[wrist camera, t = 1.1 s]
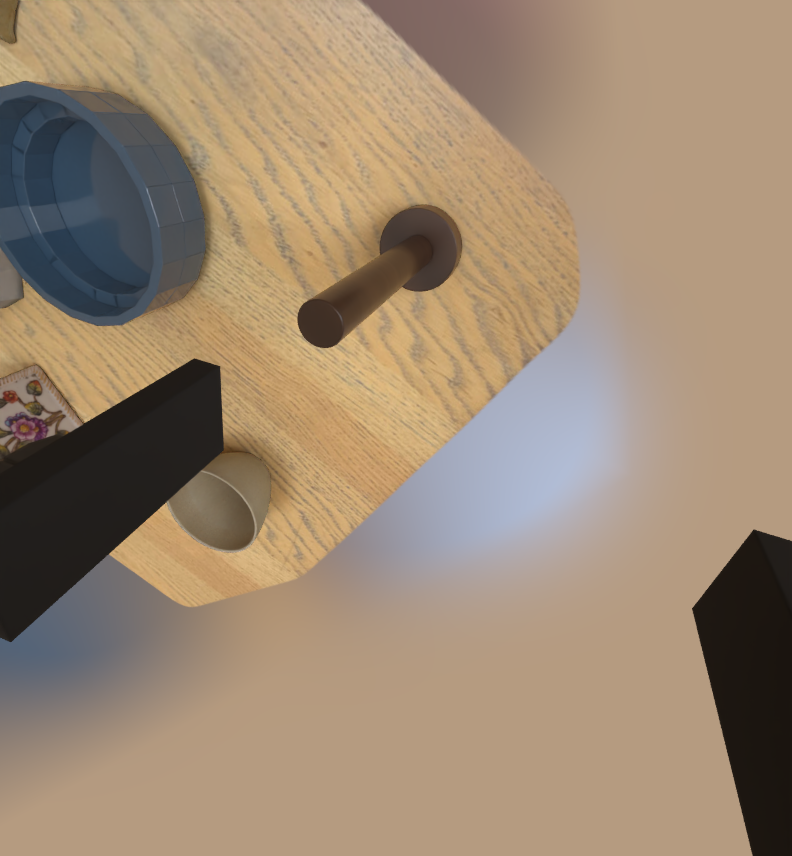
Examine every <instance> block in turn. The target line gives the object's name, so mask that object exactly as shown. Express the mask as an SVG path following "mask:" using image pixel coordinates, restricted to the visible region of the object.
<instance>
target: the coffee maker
mask: <svg viewBox="0 0 792 856" xmlns="http://www.w3.org/2000/svg"><path fill="white" fill-rule="evenodd" d="M22 298H23V286H22V277H21V276H20V274H18V272H17V271H16V269H15V268H14V267H13V265H12V264H11V262H10V261H9V259H8V258H7V257H6V255H5V254H4V252H3V251H2V250H1V248H0V308H6V307H8V306H10V305H11V304H13V303H15V302H17V301H18V300H20V299H22Z"/></svg>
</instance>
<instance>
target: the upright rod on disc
mask: <svg viewBox="0 0 792 856" xmlns="http://www.w3.org/2000/svg"><path fill="white" fill-rule="evenodd" d="M461 252H462V241H461V236H460V232H459V229H458V227H457V225H456V224H455V222H454V221H453V219H452V218H451V217H450V216H449V215H448V214H447V213H446V212H444V211H443V210H441V209H439V208H437V207H434V206H430V205H416V206H413V207H410V208H408V209H406V210H404V211H401V212H399V213H398V214H396V215H395V216H394V217H393V218H392V219H391V220H390V221H389V222H388V223H387V225H386V226H385V228H384V230H383V233H382V236H381V240H380V256H378V257H377V258H375V259H374V260H372V261H370V262H369V263H367V264H366V265H364V266H362V267H361V268H359V269H358V270H356V271H354V272H353V273H351V274H350V275H348V276H346V277H345V278H343V279H342V280H340V281H339V282H337V283H335V284H334V285H332V286H331V287H329V288H327V289H326V290H324V291H323V292H321V293H319V294H318V295H316V296H315V297H313V298H311V299H310V300H308V301H307V302H305V303H304V304H303V305H302V306H301V308H300V310H299V313H298V326H299V329H300V331H301V333H302V335H303V336H304V338H305V339H306V340H307V341H308V342H310V343H311V344H312V345H314V346H317V347H320V348H330V347H333V346H335V345H336V344H338V343H339V342H340V341H341V340H342V339H343V338H345V337H346V336H347V335H348V334H349V333H350V332H351V331H352V330H354V329H355V328H356V327H357V326H358V325H359V324H360V323H362V322H363V321H364V320H365V319H366V318H367V317H368V316H369V315H371V314H372V313H373V312H374V311H375V310H376V309H377V308H378V307H380V306H381V305H382V304H383V303H384V302H385V301H386V300H387V299H389V298H390V297H391V296H392V295H393V294H394V293H395V292H397V291H398V290H399V289H400V288H401V287H403V288H405V289H408V290H411V291H420V292H421V291H428V290H431V289H434V288H436V287H438V286H440V285H441V284H442V283H444V282H445V281H446V280H447V279H448V277H449V276H450V275H451V274H452V273H453V271H454V270H455V269H456V267H457V265H458V263H459V260H460V257H461Z"/></svg>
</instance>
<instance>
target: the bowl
mask: <svg viewBox="0 0 792 856" xmlns="http://www.w3.org/2000/svg"><path fill="white" fill-rule="evenodd" d="M0 248H1V250H2V251H3V252H4V254H5V255H6V257H7V258H8V259H9V261H10V262H11V264H12V265H13V267H14V268H15V269H16V271H17V272H18V274H20V276H21V277H22V278H23V279H24V280H25V281H26V282H27V283H28V284H29V285H30V286H31V287H32V288H33V289H34V290H35V291H36V292H37V293H38V294H39V295H40V296H41V297H42V298H43V299H45V300H46V301H47V302H49V303H50V304H52V305H53V306H55V307H56V308H58V309H60V310H61V311H63V312H64V313H66V314H67V315H69V316H70V317H73V318H76V319H79V320H82V321H85V322H88V323H91V324H94V325H97V326H115V325H124V324H126V323H128V322H131V321H133V320H135V319H138V318H140V317H143V316H145V315H147V314H150V313H152V312H154V311H157V310H159V309H161V308H164V307H166V306H168V305H170V304H172V303H174V302H176V301H178V300H180V299H182V298H183V297H184V296H185V295H186V294H187V292H188V291H189V290H190V289H191V287H192V286H193V285H194V283H195V282H196V281H197V279H198V277H199V273H200V270H201V266H202V262H203V259H204V255H205V250H206V247H205V218H204V213H203V210H202V206H201V203H200V199H199V196H198V192H197V188H196V185H195V182H194V179H193V177H192V175H191V173H190V171H189V170H188V168H187V166H186V164H185V162H184V160H183V158H182V157H181V155H180V153H179V151H178V149H177V147H176V145H174V143H173V142H172V141H171V140H170V139H169V138H168V136H167V135H166V134H165V133H164V132H163V131H162V130H161V128H160V127H159V126H158V125H157V124H156V123H155V122H154V120H153V119H152V118H151V117H150V116H149V115H148V114H147V113H145V112H144V111H142V110H141V109H139V108H138V107H136V106H135V105H133V104H132V103H130V102H129V101H127V100H126V99H124V98H123V97H121V96H120V95H118V94H115V93H111V92H107V91H103V90H99V89H95V88H91V87H85V86H74V85H63V84H53V83H42V82H32V81H23V82H19V83H15V84H11V85H7V86H2V87H0Z"/></svg>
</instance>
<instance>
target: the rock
mask: <svg viewBox="0 0 792 856" xmlns="http://www.w3.org/2000/svg"><path fill="white" fill-rule="evenodd" d="M17 3H18V0H0V39H2V40H4V41H5V42H7V43H9V44H12V43H15V42H16V39H15V35H14V31H13V26H14V20H15V10H16V8H17Z"/></svg>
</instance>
